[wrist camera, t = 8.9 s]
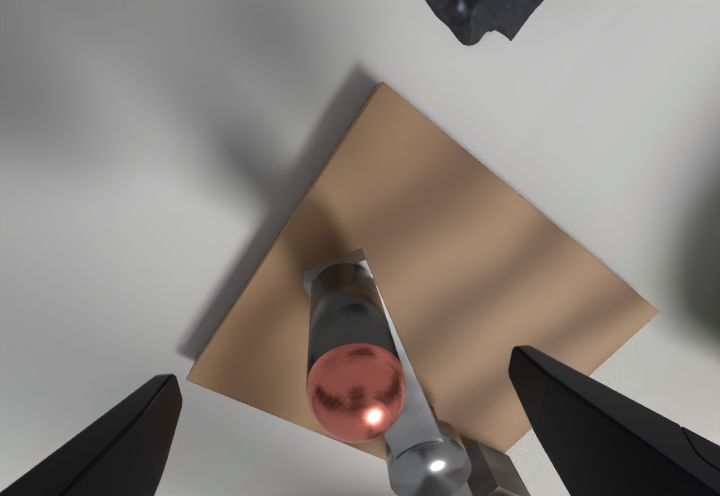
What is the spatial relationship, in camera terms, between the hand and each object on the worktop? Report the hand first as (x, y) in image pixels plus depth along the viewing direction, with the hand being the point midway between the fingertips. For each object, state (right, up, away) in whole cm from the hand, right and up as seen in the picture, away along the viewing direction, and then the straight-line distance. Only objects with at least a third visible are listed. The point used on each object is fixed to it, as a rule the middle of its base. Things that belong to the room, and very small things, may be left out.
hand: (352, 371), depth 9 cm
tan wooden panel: (+4, -2, +12) cm, 13 cm away
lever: (+2, -4, +9) cm, 10 cm away
